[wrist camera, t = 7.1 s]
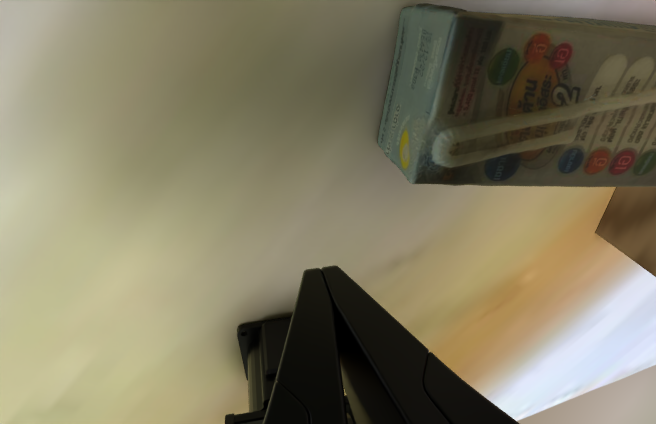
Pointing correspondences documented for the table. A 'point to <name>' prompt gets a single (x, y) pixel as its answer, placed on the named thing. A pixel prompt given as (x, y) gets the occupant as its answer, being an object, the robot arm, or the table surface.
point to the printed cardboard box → (521, 100)
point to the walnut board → (632, 224)
